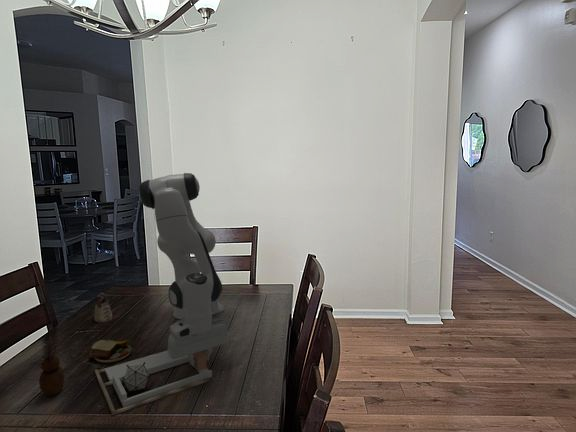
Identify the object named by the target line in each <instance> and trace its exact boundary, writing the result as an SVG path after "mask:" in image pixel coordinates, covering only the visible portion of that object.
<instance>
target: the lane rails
mask: <svg viewBox="0 0 576 432" xmlns="http://www.w3.org/2000/svg"><path fill="white" fill-rule="evenodd" d="M164 351H165V350H163V351H160V352H156V353H153V354H151V355H154V354H158V353H161V352H164ZM166 351H168V349H167V350H166ZM151 355H146V356H143V357H142V358H144V357H147V356H151ZM140 358H141V357H139V358H136V359H135V360H137V359H140ZM133 360H134V359H133ZM133 360H132V359H131V360H129V361H125V362H123V363H127V362H130V361H133ZM123 363H119V364H116V365H120V364H123ZM116 365H113V366H116ZM113 366H111V367H113ZM109 367H110V366H108V367H105V368H102V369H94V374H95V376H96V379H97V381H98V384H99V386H100V388H101V391H102V393H103V396H104V398H105V401H106V403H107V406H108V408H109V411H110V413H111V415H112V416H115V415H118V414H121V413H123V412H127V411H129V410H131V409H134V408H137V407H140V406H142V405H145V404H148V403H151V402H153V401H154V402H155V401H157V400H159V399H162V398H165V397H169V396H171V395H173V394H177V393H180V392H182V391H185V390H188V389H190V388H193V387H196V386H199V385H201V384H204V383H208V382H210V378H206V379H203V380H200V381H197V382H194V383H192V384H189V385H186V386H183V387H180V388H177V389H175V390H172V391H169V392H166V393H163V394H160V395H158V396H155V397H152V398H149V399H146V400H143V401H140V402H138V403H135V404H132V405H129V406H126V407H123V406H122V407H120V408H118V409H115V407H114V405H113V402H112V399H111V397H110V395H109V393H108V391H107V387H108V386H111V385H113V382H112V381H107V382H104V381H103V378H102V376H101V373H106V372H105V369H106V368H109Z"/></svg>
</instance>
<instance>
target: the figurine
mask: <svg viewBox="0 0 576 432" xmlns="http://www.w3.org/2000/svg"><path fill="white" fill-rule="evenodd" d="M96 301H97V303H96V304H95V306H94V311H93V312H94V313H93V318H94V319H93V320H94V322H95V323H101V324H102V323H107V322H110V321H112V319H113V312H112V308H111V305H110V301H109V299H108V294H106V293H104V292H101V293H98V295H97V300H96Z"/></svg>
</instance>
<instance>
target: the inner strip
mask: <svg viewBox="0 0 576 432" xmlns="http://www.w3.org/2000/svg"><path fill="white" fill-rule="evenodd" d="M163 351H164V352H163ZM163 351H160V352H161V353H160V352H157V353H158V354H156V353H153V354H154V355H153V354H151V356H149V355H146V356H147V357H146V356H143V357H144V358H143V357H139V358H140V359H139V358H136V359H137V360H136V359H133V361H132V360H129V361H130V362H129V361H126V362H127V363H125V362H123V364H122V363H119V364H120V365H118V364H116V366H115V365H113V367H112V366H108V367H109V368H108V367H105V368H106V369H105V368H104V369H105V372H104V373H105V375H106V376H107V379H108V382H110V381H112V378H113V375H115V374H117V375H118V376H121V375H125V374H126V372H127V369H128V367H127V365H128V366H129V367H130V366H137V365H143V363H144V362H145V364H144V366H145V368H147V367H151V366H154V365H157V364H160V363H164V362H167V361H170V360H174V359H172V358H171V357H170V356H169V355H168V351H167V350H163Z"/></svg>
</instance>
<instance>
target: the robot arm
mask: <svg viewBox="0 0 576 432" xmlns="http://www.w3.org/2000/svg"><path fill="white" fill-rule="evenodd" d="M200 187H201V186H200V183H199V180H198V179H197V177H196V176H195V175H194V174H193V173H190V172H188V173H187V172H184V173H179V174H178V173H177V174H169V175H166V176H160V177H156V178H153V179H146V180H145V181H142V182H141V183H140V185H139V187H138V197H139V199H140V202H141V203H142V205H143V206H145V207H146V208H149V209H152V210H154V216H155V217H154V219H155V222H156V229H157V233H158V236H157V242H156V243H157V247H158V248H159V250H160V252H162V253H164V254H165V255H166V256H167V258H168V259H169V260H170V262H171V264H172V267H173V271H174V281H173V282H172V283H171V284H170V286H169V288H168V301H169V303H170V305H172V306H173V307H174V311H173V314H172V316H173V317H174V318H175V319H178V321H176V322H174V323H173V324H171V325H170V326H169V331H170V334H169V336H168V339H167V350H168V355H169V356H170V357H171V358H172V359H177V358H180V357H183V356H188V357H189V358H190V362H189V364H190V363H191V364H190V366H192V367H193V365H196V364H197V363H196V359H195V358H192V357H191V356H193V353H196V352H200V351H202V352H203V351H205V353H204V354H205V355H206V362H208V361H209V360H210V356H211V353H212V351H213V348H215V347H216V348H217V347H219V346H223V345H226V344H227V343H228V341H229V334H228V332H229V331H228V320H227V318H226V317H223V316H220V317H218V318H213V316H214V315H217V314H219V313H222V312H224V306H223V305H222V304H221V303H219V301H218V299H219V298H220V297H221V295H222V292H223V283H222V280H221V279H220V277H219V275H218V274H217V271H216V269H215V266H214V263H213V260H212V259H211V256H210V253H211V252H212V251H214V249H215V246H216V241H217V240H216V236H215V235H214V233H213V232H212V231H210V230H208V229H207V228H205V227H204V226H202V224H200V222H198V220H197V219H196V217H195V214H194V212H193V209H192V206H191V201H194V200H196V199H197V198H198V197H199V195H200V194H199V193H200ZM189 255H193V256H194V258H195V260H196V261H195V260H193V259H192V258H191V257H190V256H189Z"/></svg>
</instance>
